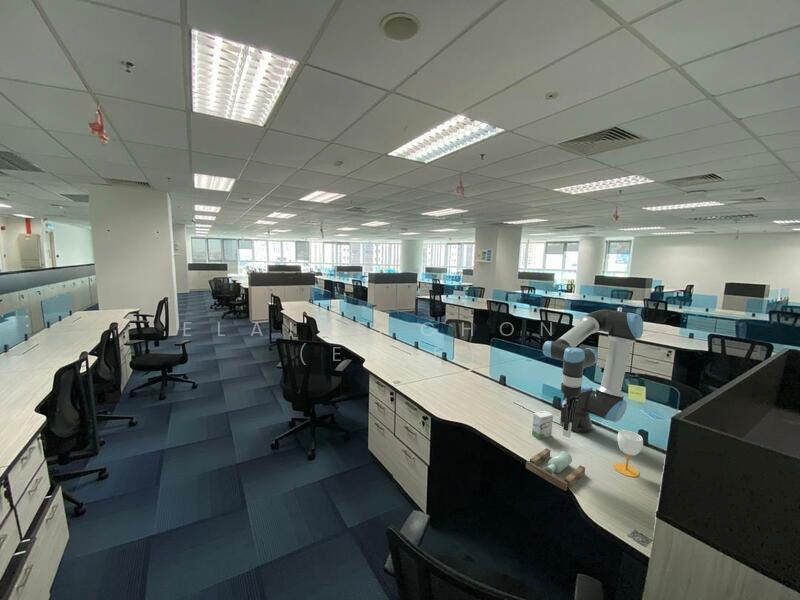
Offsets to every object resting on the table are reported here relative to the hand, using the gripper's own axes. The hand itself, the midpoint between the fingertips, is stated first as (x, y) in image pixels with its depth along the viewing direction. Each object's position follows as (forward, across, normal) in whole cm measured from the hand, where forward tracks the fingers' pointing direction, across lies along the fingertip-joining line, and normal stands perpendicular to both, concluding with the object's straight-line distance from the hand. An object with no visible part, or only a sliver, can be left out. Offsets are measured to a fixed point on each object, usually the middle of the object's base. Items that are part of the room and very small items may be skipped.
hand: (566, 435), depth 140 cm
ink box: (+14, -14, -18) cm, 27 cm away
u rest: (+13, +8, 0) cm, 16 cm away
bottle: (+11, -1, 0) cm, 11 cm away
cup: (+14, -18, +18) cm, 29 cm away
